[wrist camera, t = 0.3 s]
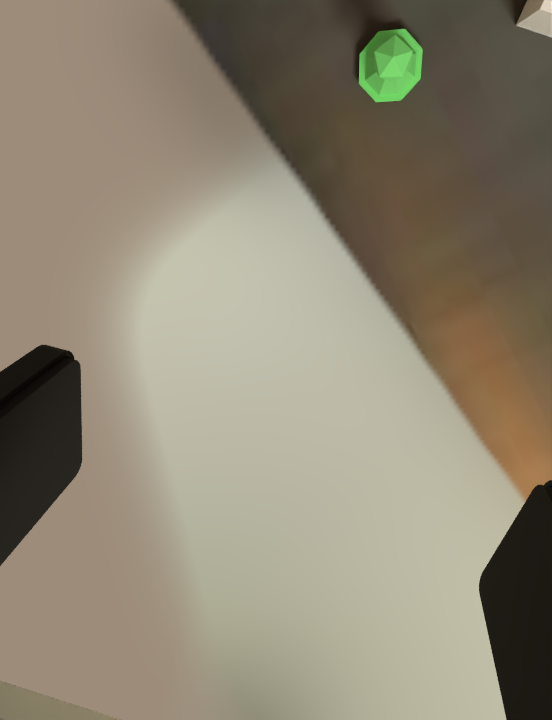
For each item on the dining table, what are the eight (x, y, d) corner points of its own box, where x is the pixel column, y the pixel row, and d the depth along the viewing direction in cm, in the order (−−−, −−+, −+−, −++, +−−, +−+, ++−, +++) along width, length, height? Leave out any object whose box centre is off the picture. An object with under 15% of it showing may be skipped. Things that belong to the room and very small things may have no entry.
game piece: (347, 50, 32) (341, 37, 26) (410, 14, 30) (418, -7, 25) (370, 115, 33) (369, 115, 28) (431, 84, 32) (442, 78, 26)
